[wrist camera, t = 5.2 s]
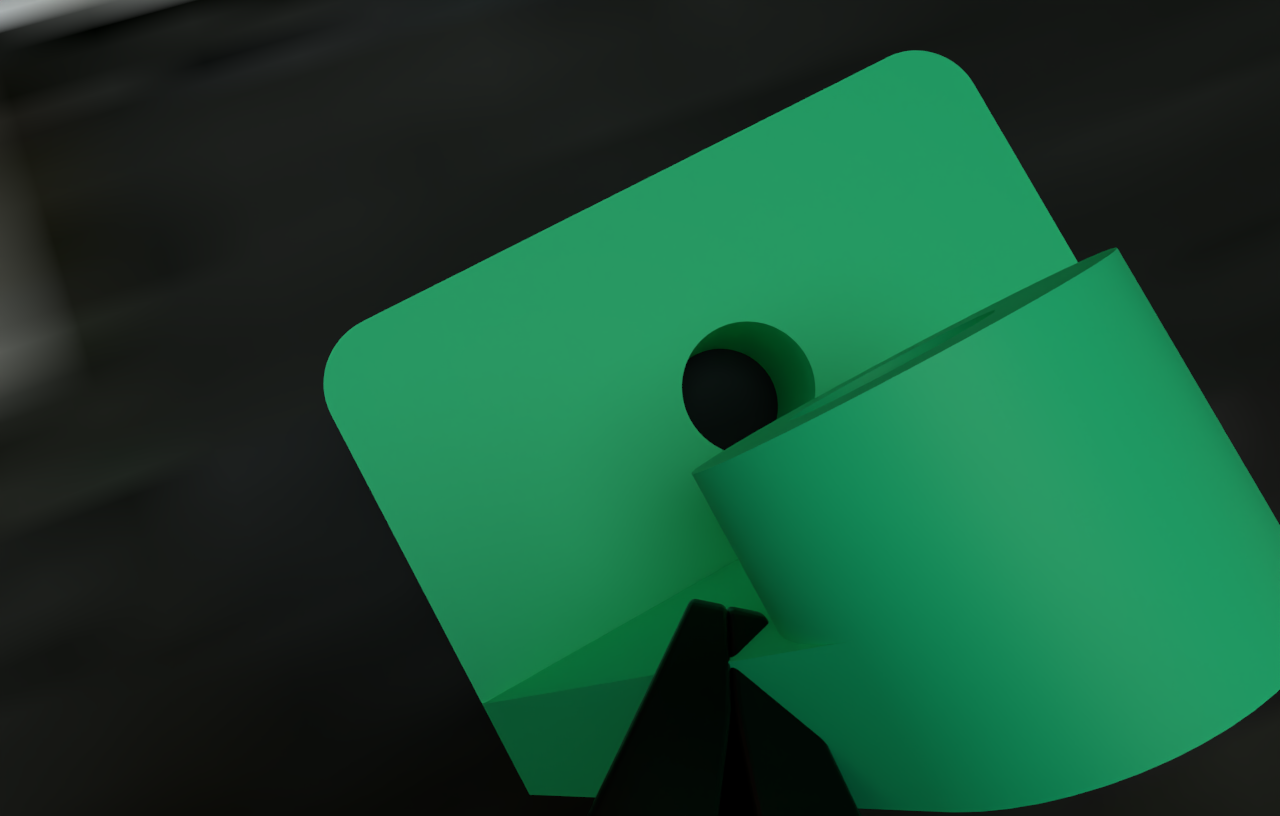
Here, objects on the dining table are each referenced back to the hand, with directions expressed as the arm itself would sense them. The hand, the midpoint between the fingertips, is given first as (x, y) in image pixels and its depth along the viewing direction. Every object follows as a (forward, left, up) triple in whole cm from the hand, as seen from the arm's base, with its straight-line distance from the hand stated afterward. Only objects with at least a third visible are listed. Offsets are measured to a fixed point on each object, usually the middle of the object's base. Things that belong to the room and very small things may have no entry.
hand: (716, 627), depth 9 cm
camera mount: (+2, +3, -7) cm, 8 cm away
